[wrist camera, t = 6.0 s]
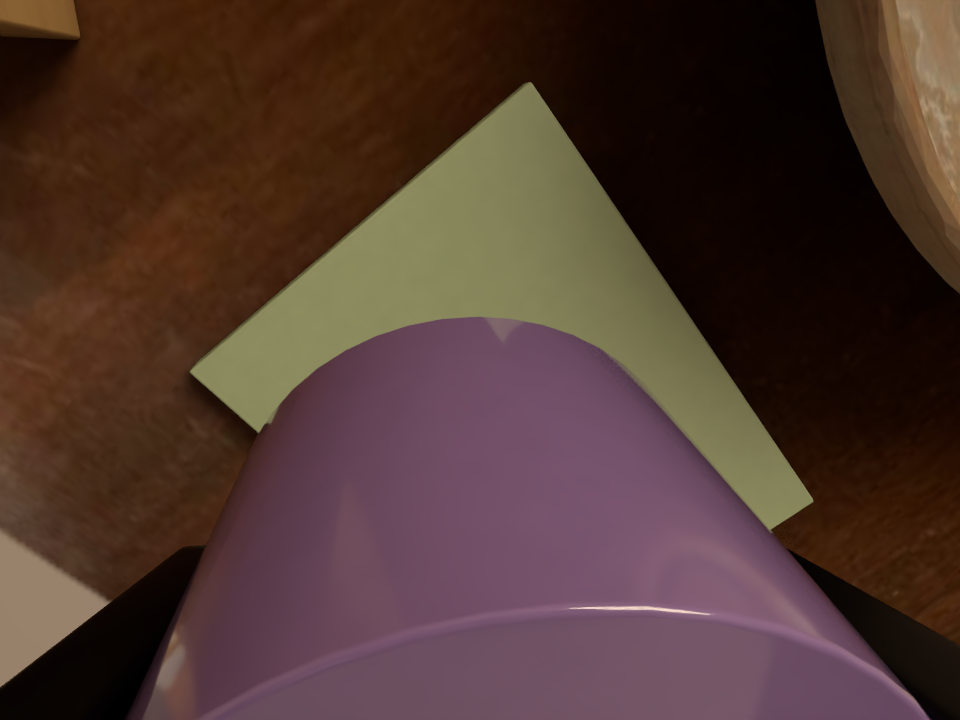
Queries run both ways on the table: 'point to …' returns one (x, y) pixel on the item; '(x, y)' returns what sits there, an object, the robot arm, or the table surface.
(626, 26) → the table surface
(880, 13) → the ceramic bowl
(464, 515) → the purple round puck
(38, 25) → the block
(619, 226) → the placemat
